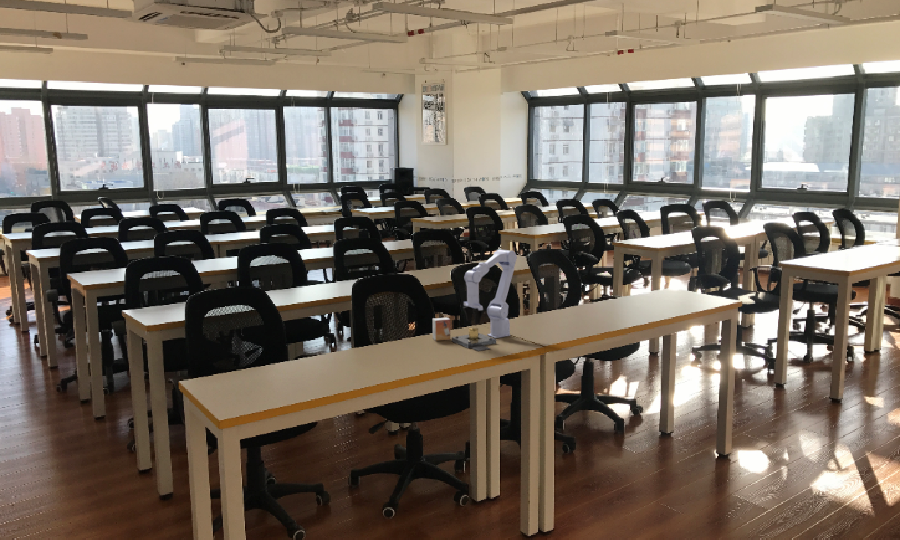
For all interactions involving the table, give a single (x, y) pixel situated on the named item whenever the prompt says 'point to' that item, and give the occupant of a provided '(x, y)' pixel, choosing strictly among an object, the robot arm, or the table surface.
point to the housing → (468, 343)
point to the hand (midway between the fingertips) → (473, 322)
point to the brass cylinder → (473, 333)
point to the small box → (441, 329)
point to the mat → (480, 348)
